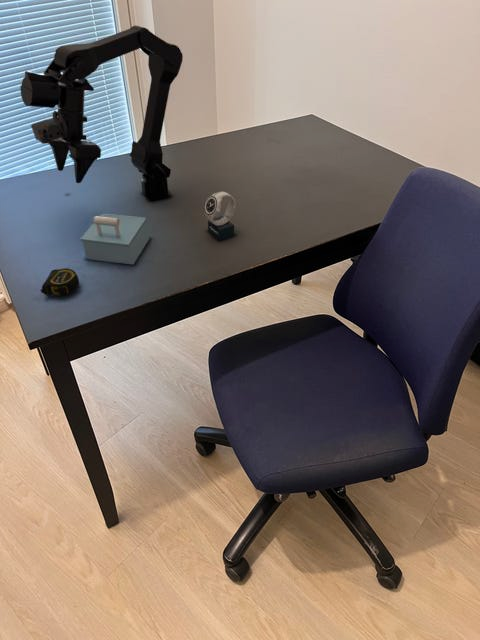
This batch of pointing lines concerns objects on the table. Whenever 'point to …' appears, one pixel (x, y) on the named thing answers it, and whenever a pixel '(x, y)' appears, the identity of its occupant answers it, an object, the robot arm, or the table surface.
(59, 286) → the tape measure
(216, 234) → the watch
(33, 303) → the table surface
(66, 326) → the table surface
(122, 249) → the compartment
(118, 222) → the compartment lid
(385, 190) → the table surface
